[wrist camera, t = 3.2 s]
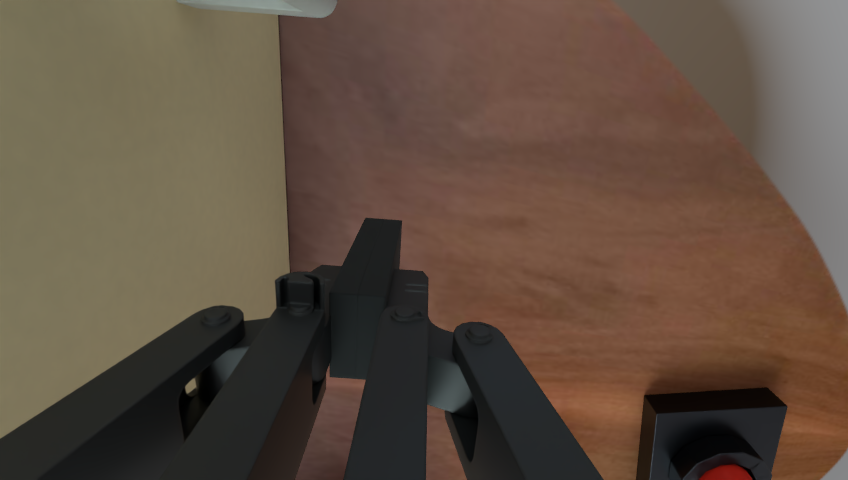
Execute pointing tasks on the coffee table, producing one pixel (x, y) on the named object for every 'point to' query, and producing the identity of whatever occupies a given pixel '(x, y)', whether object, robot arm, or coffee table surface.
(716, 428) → the button block
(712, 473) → the button
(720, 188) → the coffee table surface
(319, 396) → the robot arm
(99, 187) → the door
